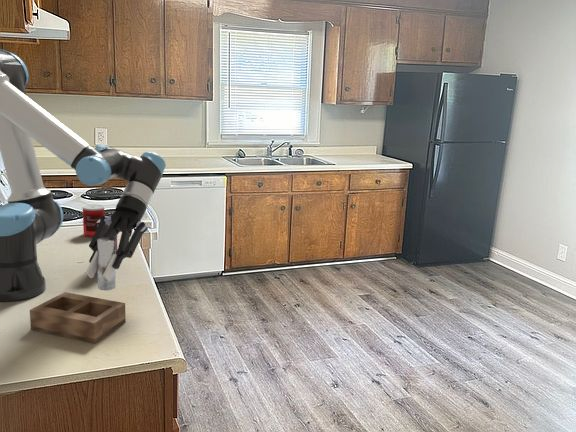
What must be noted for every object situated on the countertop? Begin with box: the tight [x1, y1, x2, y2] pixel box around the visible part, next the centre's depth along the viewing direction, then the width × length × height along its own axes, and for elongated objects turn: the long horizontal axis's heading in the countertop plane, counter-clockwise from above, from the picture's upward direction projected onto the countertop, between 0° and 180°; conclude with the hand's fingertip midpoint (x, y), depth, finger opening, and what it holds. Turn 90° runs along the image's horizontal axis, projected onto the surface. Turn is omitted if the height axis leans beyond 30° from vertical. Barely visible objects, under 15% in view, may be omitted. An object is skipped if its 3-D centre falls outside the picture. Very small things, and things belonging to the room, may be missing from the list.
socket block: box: [29, 291, 127, 344], centre depth 125 cm, size 17×12×5 cm
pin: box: [97, 237, 117, 291], centre depth 135 cm, size 4×4×13 cm
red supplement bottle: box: [82, 203, 106, 238], centre depth 197 cm, size 8×8×11 cm
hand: (97, 277), depth 132 cm, fingers closed on pin, 4 cm apart
